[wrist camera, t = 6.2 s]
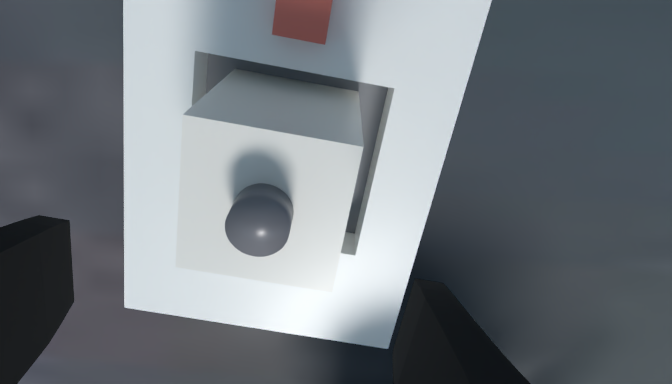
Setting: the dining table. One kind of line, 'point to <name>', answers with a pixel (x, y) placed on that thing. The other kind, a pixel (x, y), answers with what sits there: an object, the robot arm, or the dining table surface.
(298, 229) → the plug
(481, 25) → the socket plate
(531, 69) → the dining table surface
